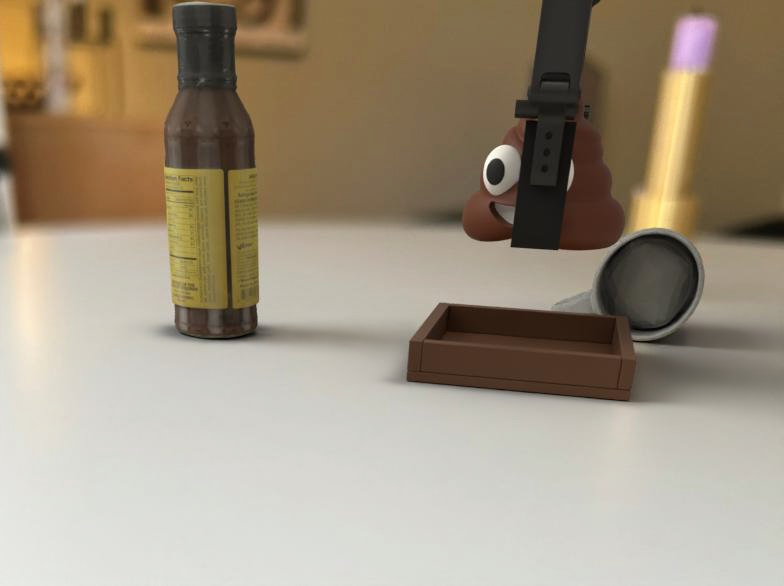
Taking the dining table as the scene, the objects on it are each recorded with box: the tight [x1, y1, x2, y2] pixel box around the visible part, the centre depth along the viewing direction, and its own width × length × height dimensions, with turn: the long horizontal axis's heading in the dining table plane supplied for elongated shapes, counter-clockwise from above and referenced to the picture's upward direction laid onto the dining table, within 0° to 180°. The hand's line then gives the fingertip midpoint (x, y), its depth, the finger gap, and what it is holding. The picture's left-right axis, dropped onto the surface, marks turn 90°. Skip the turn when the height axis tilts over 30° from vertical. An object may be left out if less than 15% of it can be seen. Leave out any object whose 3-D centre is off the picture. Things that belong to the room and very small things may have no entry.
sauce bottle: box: [163, 1, 260, 339], centre depth 67 cm, size 6×6×20 cm
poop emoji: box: [461, 72, 626, 252], centre depth 59 cm, size 10×8×9 cm
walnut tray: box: [405, 302, 638, 401], centre depth 65 cm, size 13×14×2 cm
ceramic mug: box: [550, 227, 706, 342], centre depth 75 cm, size 11×8×8 cm
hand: (537, 239), depth 61 cm, fingers closed on poop emoji, 9 cm apart
